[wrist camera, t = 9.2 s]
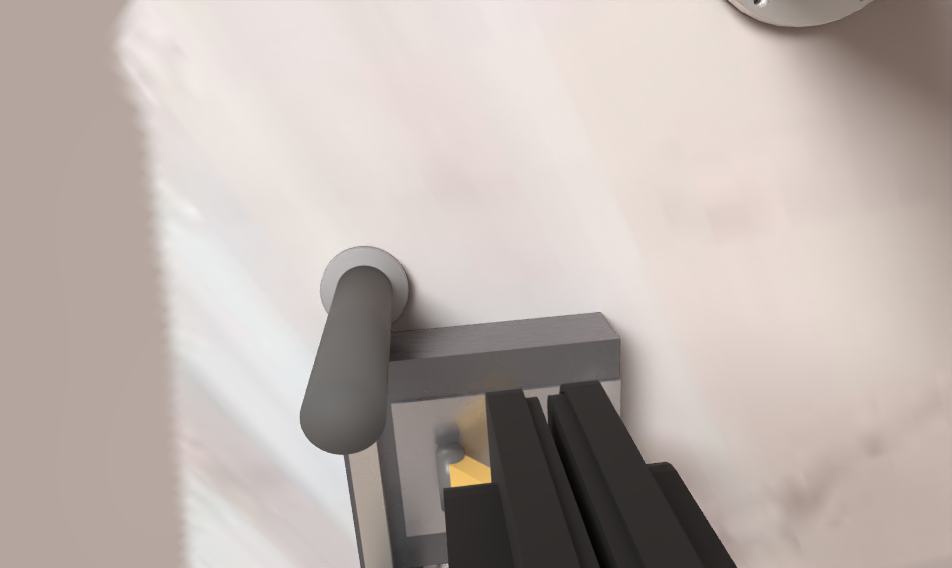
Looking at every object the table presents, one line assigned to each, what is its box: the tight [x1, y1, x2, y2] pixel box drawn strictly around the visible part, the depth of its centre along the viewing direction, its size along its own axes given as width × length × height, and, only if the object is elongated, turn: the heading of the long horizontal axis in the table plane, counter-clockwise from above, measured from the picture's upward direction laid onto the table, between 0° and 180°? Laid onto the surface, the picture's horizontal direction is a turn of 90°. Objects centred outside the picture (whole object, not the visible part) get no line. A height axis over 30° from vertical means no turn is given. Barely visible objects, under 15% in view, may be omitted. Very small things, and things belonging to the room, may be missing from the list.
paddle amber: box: [436, 443, 491, 512], centre depth 36 cm, size 2×4×8 cm
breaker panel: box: [344, 312, 621, 568], centre depth 40 cm, size 16×14×5 cm
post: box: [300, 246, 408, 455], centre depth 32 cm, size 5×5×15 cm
